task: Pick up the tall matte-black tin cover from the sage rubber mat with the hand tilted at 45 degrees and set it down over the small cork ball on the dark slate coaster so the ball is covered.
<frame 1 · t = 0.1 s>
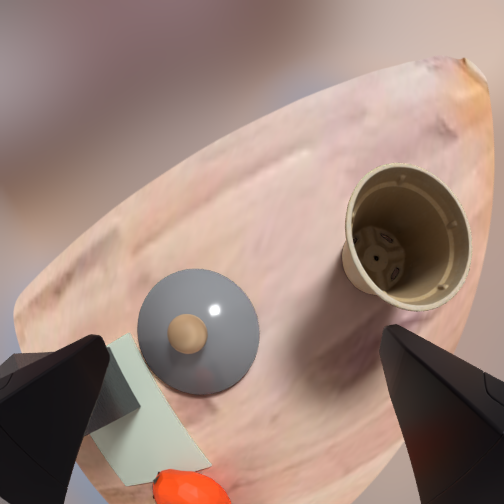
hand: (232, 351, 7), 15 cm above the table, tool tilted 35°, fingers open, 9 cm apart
rubber mat: (124, 420, 21), on the table
flower pot: (373, 261, 22), on the table
pumpkin: (198, 486, 18), on the table, touching rubber mat
slate coaster: (195, 332, 22), on the table
tin cover: (103, 387, 21), resting on rubber mat
cork ball: (193, 332, 22), point 1 cm above the table, touching slate coaster
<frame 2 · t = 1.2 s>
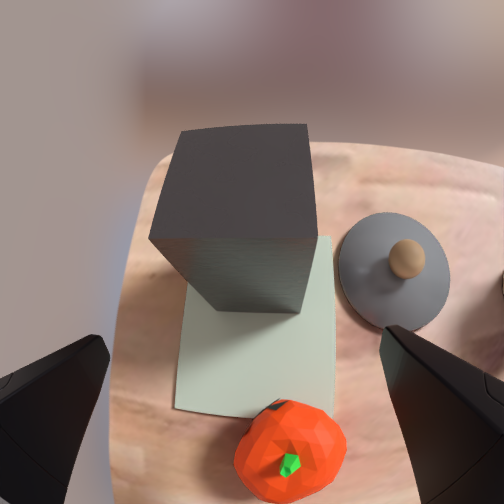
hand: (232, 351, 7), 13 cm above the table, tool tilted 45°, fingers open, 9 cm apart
rubber mat: (257, 323, 21), on the table
pumpkin: (289, 443, 16), on the table, touching rubber mat
slate coaster: (397, 269, 21), on the table
tin cover: (259, 273, 22), resting on rubber mat
cork ball: (399, 266, 20), point 1 cm above the table, touching slate coaster
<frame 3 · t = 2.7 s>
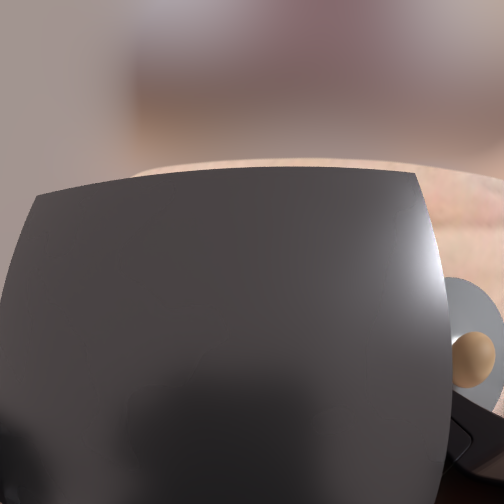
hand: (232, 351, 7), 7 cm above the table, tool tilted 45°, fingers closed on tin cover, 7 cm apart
slate coaster: (450, 363, 12), on the table
tin cover: (255, 387, 13), resting on rubber mat, touching gripper
cork ball: (456, 362, 11), point 1 cm above the table, touching slate coaster
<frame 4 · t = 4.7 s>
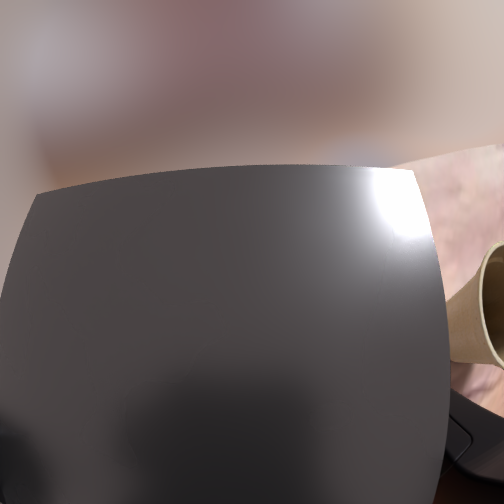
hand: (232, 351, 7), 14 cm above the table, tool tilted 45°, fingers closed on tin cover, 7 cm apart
flower pot: (458, 330, 18), on the table
tin cover: (254, 386, 13), point 7 cm above the table, touching gripper
when the fingers open (8 cm above the table, at t = 6.5 s): tin cover drops 1 cm, resting on slate coaster.
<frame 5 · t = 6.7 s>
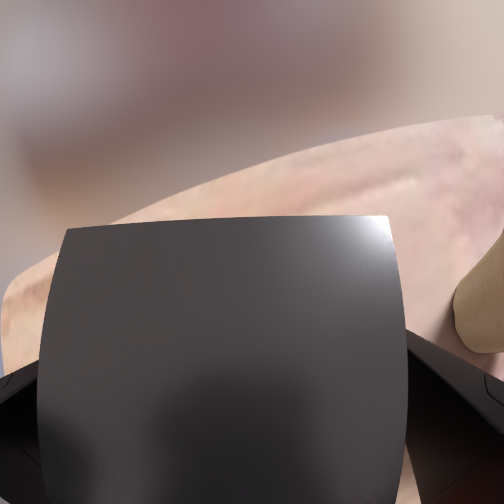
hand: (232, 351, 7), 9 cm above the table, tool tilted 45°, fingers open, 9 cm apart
flower pot: (478, 314, 14), on the table
tin cover: (257, 385, 14), point 1 cm above the table, touching slate coaster
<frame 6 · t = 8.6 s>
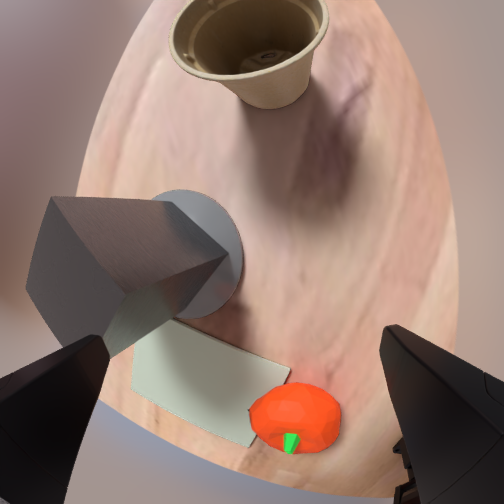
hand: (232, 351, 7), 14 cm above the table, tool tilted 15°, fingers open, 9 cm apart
rubber mat: (197, 383, 24), on the table
flower pot: (272, 80, 19), on the table
pumpkin: (299, 400, 22), on the table, touching rubber mat
slate coaster: (181, 255, 23), on the table
tin cover: (177, 256, 22), point 1 cm above the table, touching slate coaster
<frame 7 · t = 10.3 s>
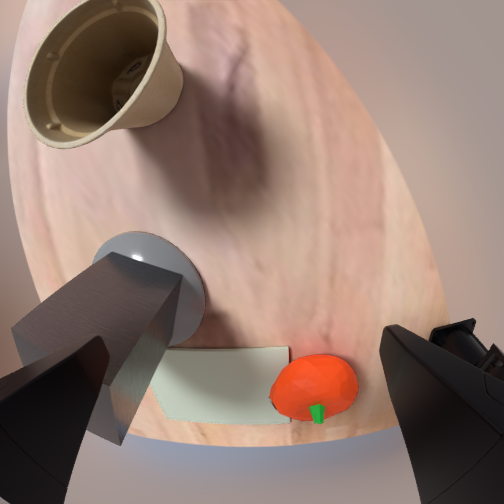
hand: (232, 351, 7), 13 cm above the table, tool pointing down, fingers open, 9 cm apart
rubber mat: (216, 390, 26), on the table
flower pot: (148, 90, 17), on the table
pumpkin: (310, 368, 24), on the table, touching rubber mat
slate coaster: (144, 292, 22), on the table
tin cover: (141, 296, 21), point 1 cm above the table, touching slate coaster
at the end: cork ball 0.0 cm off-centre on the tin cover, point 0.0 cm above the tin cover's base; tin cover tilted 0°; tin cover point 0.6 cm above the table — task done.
